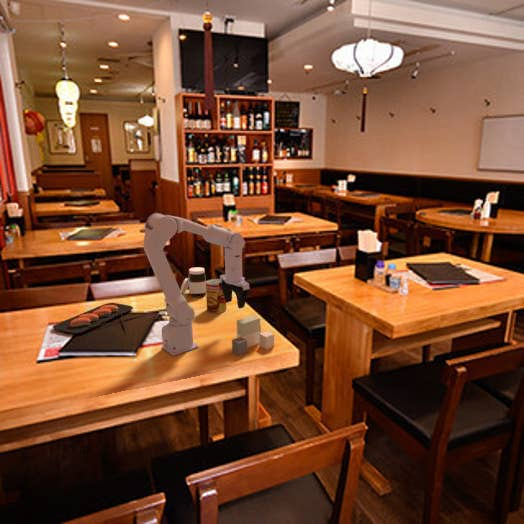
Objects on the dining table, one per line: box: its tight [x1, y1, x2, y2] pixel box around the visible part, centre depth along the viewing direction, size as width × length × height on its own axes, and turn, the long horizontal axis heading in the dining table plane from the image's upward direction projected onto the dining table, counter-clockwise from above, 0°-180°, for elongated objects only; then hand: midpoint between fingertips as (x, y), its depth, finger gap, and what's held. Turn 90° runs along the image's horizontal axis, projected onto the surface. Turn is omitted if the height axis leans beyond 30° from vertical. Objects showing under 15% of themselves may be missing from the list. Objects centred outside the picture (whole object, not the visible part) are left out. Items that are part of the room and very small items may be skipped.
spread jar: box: [180, 266, 207, 298], centre depth 186 cm, size 12×11×12 cm
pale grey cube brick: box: [259, 330, 275, 350], centre depth 135 cm, size 3×3×4 cm
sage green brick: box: [236, 315, 261, 336], centre depth 135 cm, size 7×3×4 cm, turn 130°
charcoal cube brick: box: [231, 337, 248, 357], centre depth 130 cm, size 3×3×4 cm
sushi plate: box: [52, 302, 150, 338], centre depth 156 cm, size 29×30×4 cm
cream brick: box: [236, 331, 260, 349], centre depth 136 cm, size 7×3×4 cm, turn 129°
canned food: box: [205, 278, 228, 314], centre depth 166 cm, size 8×8×12 cm
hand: (234, 304), depth 143 cm, fingers open, 7 cm apart
